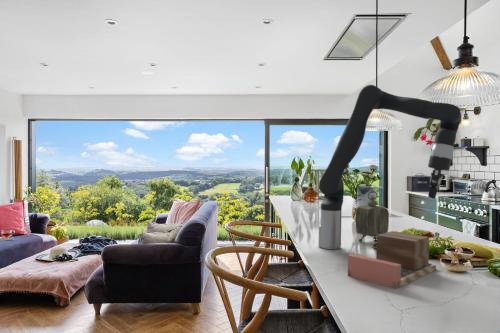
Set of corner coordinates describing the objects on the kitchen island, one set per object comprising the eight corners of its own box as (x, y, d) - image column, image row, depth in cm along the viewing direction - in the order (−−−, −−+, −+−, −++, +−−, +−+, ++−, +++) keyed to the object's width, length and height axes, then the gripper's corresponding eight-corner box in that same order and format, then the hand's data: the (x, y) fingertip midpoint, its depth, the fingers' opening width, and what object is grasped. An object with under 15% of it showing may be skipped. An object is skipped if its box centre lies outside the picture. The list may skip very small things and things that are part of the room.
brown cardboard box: (391, 256, 147) (392, 231, 146) (428, 264, 136) (429, 236, 136) (376, 261, 138) (376, 234, 138) (414, 270, 128) (414, 241, 128)
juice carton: (376, 231, 212) (377, 183, 211) (371, 234, 203) (372, 184, 203) (360, 229, 217) (361, 183, 216) (355, 232, 208) (355, 184, 207)
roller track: (391, 260, 150) (391, 242, 150) (436, 269, 137) (436, 250, 137) (347, 275, 128) (348, 255, 128) (396, 288, 116) (396, 266, 116)
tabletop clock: (374, 239, 191) (375, 190, 191) (389, 242, 184) (390, 191, 183) (355, 242, 183) (356, 191, 183) (370, 245, 176) (371, 192, 175)
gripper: (431, 157, 152) (422, 196, 152) (429, 152, 140) (419, 195, 140) (451, 160, 149) (442, 200, 149) (451, 156, 136) (441, 199, 136)
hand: (431, 197), depth 144 cm, fingers open, 8 cm apart
